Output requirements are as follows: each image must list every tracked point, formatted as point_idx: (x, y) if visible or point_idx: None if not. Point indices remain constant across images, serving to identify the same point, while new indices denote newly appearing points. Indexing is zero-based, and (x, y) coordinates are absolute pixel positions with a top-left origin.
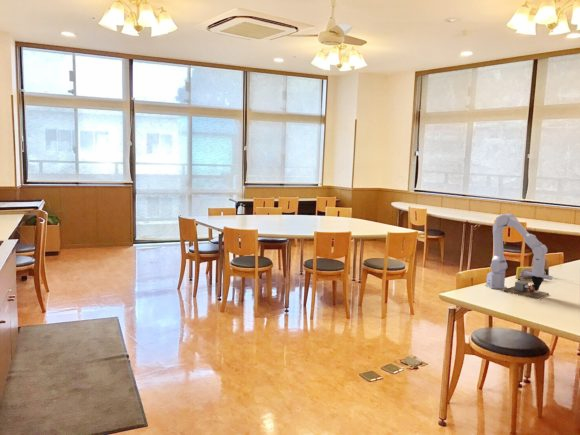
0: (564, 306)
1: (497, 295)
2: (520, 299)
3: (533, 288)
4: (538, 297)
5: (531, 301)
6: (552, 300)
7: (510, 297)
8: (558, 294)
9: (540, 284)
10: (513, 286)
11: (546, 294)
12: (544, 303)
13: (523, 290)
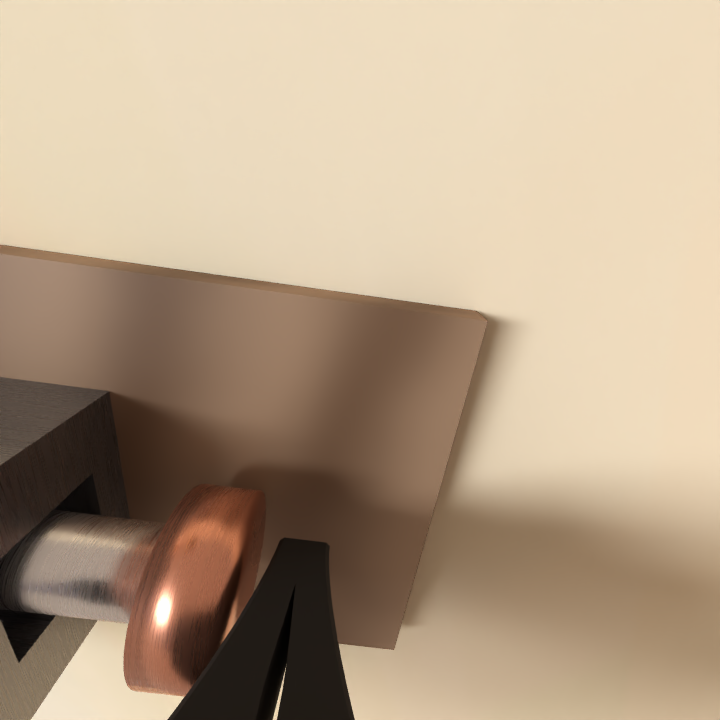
0: (675, 695)
1: (46, 714)
2: None
3: (240, 603)
4: (394, 644)
5: (360, 714)
6: (554, 580)
7: (160, 708)
8: (682, 81)
9: (346, 695)
10: None
11: (456, 416)
12: (480, 708)
13: None
